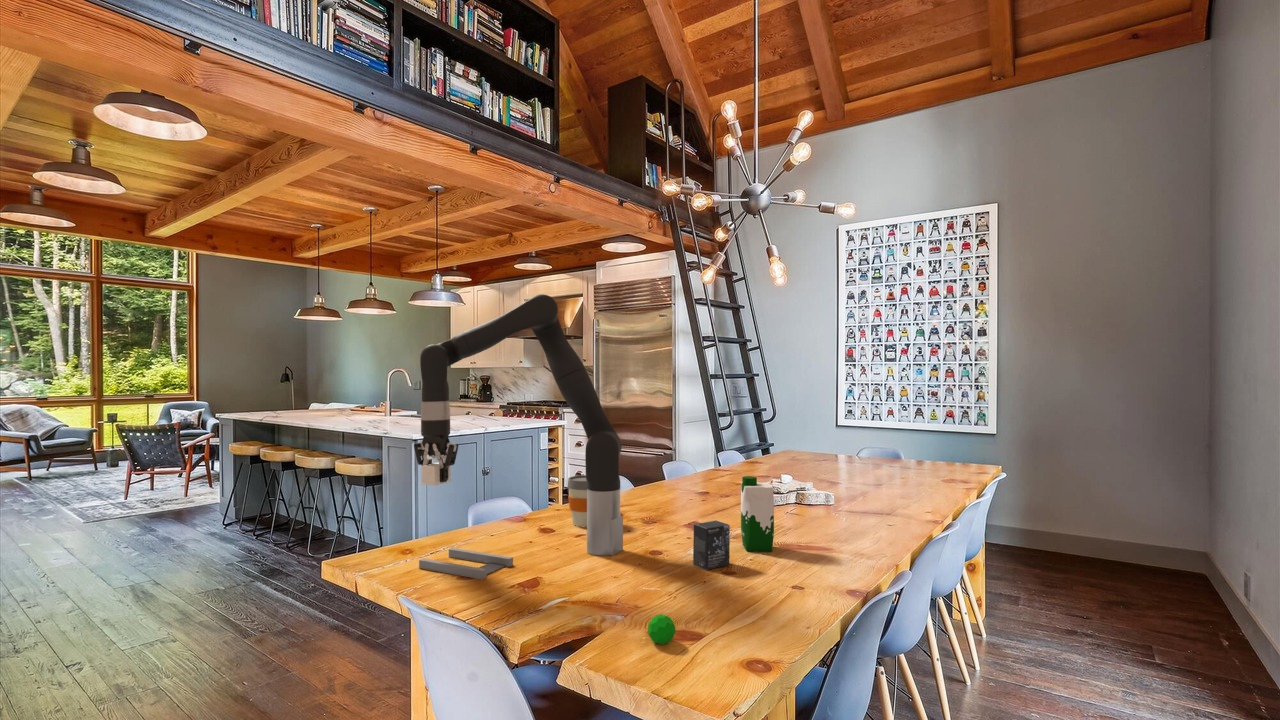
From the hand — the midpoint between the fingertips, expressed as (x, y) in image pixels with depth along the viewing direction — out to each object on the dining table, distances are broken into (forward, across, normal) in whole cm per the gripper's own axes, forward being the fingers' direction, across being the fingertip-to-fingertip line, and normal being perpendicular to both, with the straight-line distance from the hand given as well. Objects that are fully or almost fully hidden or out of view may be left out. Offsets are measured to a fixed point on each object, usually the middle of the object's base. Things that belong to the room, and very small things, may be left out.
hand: (436, 481), depth 162 cm
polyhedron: (+22, -75, +24) cm, 82 cm away
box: (+22, -70, -23) cm, 77 cm away
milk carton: (+22, -77, -43) cm, 91 cm away
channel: (+20, -13, +4) cm, 25 cm away
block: (+1, 0, 0) cm, 1 cm away
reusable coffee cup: (+21, -19, -48) cm, 56 cm away
